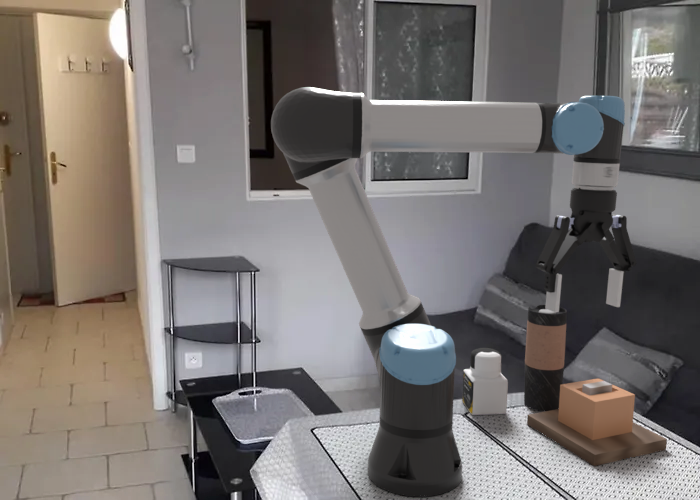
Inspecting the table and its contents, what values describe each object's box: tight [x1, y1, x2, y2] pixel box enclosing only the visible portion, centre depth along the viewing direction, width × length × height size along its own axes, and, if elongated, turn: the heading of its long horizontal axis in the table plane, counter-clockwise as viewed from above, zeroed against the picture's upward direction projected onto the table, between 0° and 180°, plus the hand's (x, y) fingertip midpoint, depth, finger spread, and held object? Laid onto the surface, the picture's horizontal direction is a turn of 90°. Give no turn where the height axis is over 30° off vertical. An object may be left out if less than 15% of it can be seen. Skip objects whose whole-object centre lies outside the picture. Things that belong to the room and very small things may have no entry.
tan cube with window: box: [558, 377, 636, 440], centre depth 127 cm, size 9×9×7 cm
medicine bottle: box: [461, 347, 509, 416], centre depth 140 cm, size 7×7×12 cm
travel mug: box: [523, 304, 568, 412], centre depth 141 cm, size 8×8×20 cm
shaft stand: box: [526, 380, 668, 467], centre depth 127 cm, size 16×18×10 cm
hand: (583, 307), depth 124 cm, fingers open, 13 cm apart
